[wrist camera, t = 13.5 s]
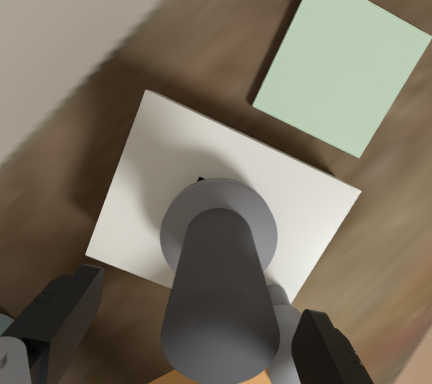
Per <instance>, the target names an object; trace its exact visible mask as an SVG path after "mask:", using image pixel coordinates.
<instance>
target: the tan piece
mask: <svg viewBox="0 0 432 384" xmlns="http://www.w3.org/2000/svg"><path fill="white" fill-rule="evenodd" d="M273 308H274V312H275V315H276V319H277V322H278V326H279V329H280V344H279V349H278V351H277V354H276V356H275V358H274V360H273V361H272V362H271V364H270V365H269V366H268V367H267V368H266V369H265V370H264V371H263V372H261V373H260V374H259V375H257V376H256V377H254V378H252V379H250V380H248V381H245V382H242V383H239V384H301V383H300V380H299V377H298V374H297V371H296V367H295V364H294V361H293V358H292V354H291V343H292V339H293V336H294V334H295V331H296V328H297V326H298V323H299V321H300V318H301V316H302V315H301V314H300V312H299V311H298V310H297V309H296V308H294V307H292V306H289V305H276V306H273ZM148 384H202V383H198V382H195V381H193V380H191V379H189V378H187V377H185V376H183V375H182V374H181V373H179V372H178V371H177V370H176V369H175V370H173V371H171V372H169V373H167V374H165V375H163V376H162V377H160V378H158V379H156V380H154V381H152V382H150V383H148Z"/></svg>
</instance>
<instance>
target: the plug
mask: <svg viewBox="0 0 432 384" xmlns="http://www.w3.org/2000/svg"><path fill="white" fill-rule="evenodd" d="M277 240H278V233H277V226H276V222H275V219H274V217H273V214H272V212H271V211H270V209H269V207H268V205H267V204H266V202H265V200H264V199H263V198H262V197H261V196H260V195H259V194H258V193H257V192H256V191H255V190H254V189H252V188H251V187H250V186H248V185H246V184H244V183H242V182H239V181H236V180H232V179H228V178H210V179H205V180H201V181H198V182H196V183H193V184H191V185H190V186H188V187H186V188H185V189H184V190H182V191H181V192H180V193H179V194H178V195H177V196H176V197H175V198H174V200H173V201H172V202H171V204H170V206H169V208H168V210H167V212H166V214H165V216H164V218H163V221H162V224H161V229H160V245H161V249H162V253H163V255H164V258H165V260H166V262H167V263H168V265H169V266H170V268H171V269H172V270H173V271H174V272H175V277H174V281H173V285H172V289H171V293H170V297H169V301H168V305H167V309H166V313H165V317H164V321H163V325H162V329H161V346H162V349H163V352H164V354H165V357H166V358H167V360H168V361H169V363H170V364H171V365H172V366H173V368H175V369H176V370H177V371H178V372H179V373H181V374H182V375H183V376H185V377H187V378H189V379H191V380H193V381H195V382H198V383H202V384H239V383H242V382H245V381H248V380H250V379H252V378H254V377H256V376H257V375H259V374H260V373H261V372H263V371H264V370H265V369H266V368H267V367H268V366H269V365H270V364H271V362H272V361H273V360H274V358H275V356H276V354H277V351H278V349H279V344H280V329H279V326H278V322H277V319H276V315H275V312H274V308H273V305H272V301H271V298H270V294H269V291H268V287H267V284H266V281H265V277H264V274H263V272H264V270H265V269H266V268H267V267H268V265H269V264H270V262H271V261H272V258H273V256H274V254H275V251H276V247H277Z"/></svg>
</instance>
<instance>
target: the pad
mask: <svg viewBox="0 0 432 384" xmlns="http://www.w3.org/2000/svg"><path fill="white" fill-rule="evenodd" d="M431 39H432V37H431V36H430V35H428V34H426V33H424V32H423V31H421V30H419V29H417V28H416V27H414V26H412V25H410V24H409V23H407V22H405V21H403V20H401V19H400V18H398V17H396V16H394V15H393V14H391V13H389V12H387V11H386V10H384V9H382V8H380V7H378V6H377V5H375V4H373V3H371V2H370V1H368V0H301V2H300V4H299V6H298V8H297V11H296V13H295V15H294V17H293V19H292V21H291V23H290V25H289V28H288V30H287V32H286V34H285V36H284V38H283V40H282V42H281V44H280V47H279V49H278V51H277V53H276V55H275V57H274V59H273V61H272V64H271V66H270V68H269V70H268V72H267V74H266V76H265V78H264V80H263V83H262V85H261V87H260V89H259V91H258V93H257V95H256V97H255V99H254V102H253V104H252V107H254V108H256V109H258V110H260V111H262V112H264V113H266V114H268V115H270V116H272V117H275V118H277V119H279V120H281V121H283V122H285V123H287V124H289V125H291V126H293V127H295V128H297V129H299V130H301V131H303V132H305V133H307V134H309V135H311V136H313V137H316V138H318V139H320V140H322V141H324V142H326V143H328V144H330V145H332V146H334V147H336V148H338V149H340V150H342V151H344V152H346V153H348V154H350V155H352V156H355V157H357V158H360V156H361V155H362V153H363V151H364V150H365V148H366V146H367V145H368V143H369V141H370V140H371V138H372V136H373V135H374V133H375V131H376V130H377V128H378V126H379V125H380V123H381V121H382V120H383V118H384V117H385V115H386V113H387V112H388V110H389V108H390V107H391V105H392V103H393V102H394V100H395V98H396V97H397V95H398V93H399V92H400V90H401V88H402V87H403V85H404V83H405V82H406V80H407V79H408V77H409V75H410V74H411V72H412V70H413V69H414V67H415V65H416V64H417V62H418V60H419V59H420V57H421V55H422V54H423V52H424V50H425V49H426V47H427V45H428V44H429V42H430V41H431Z"/></svg>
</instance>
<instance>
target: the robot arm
mask: <svg viewBox="0 0 432 384" xmlns="http://www.w3.org/2000/svg"><path fill="white" fill-rule="evenodd" d="M103 277H104V268H102V267H97V266H92V265H87V264H83V265H82V266H81V267H80V268H79V269H78V270H77V271H76V273H75V274H74V275H73V276H70V275H65V274H64V275H62V276H60V277H59V278H57V279H55V280H53V281H51V282H50V283H49V284H48V285H47V286H46V287H45V288H44V289H43V290H42V292H41V294H39V295H38V296H37V297H36V298H35V299H34V300H33V302H31V303H30V304H29V305H28V307H27V308H26V309H25V310H24V311H23V312H22V313H21V314H20V315H19V316H18V317H17V318H16V319H15V320H14V322H13V323H12V324H11V325H10V326H9V327H8V328H7V329H6V330H5V331H4V332H3V333H2V334H1V335H0V384H58V382H59V380H60V378H61V377H62V375H63V373H64V371H65V369H66V368H67V366H68V364H69V362H70V361H71V359H72V357H73V355H74V353H75V352H76V350H77V348H78V346H79V345H80V343H81V341H82V339H83V337H84V336H85V334H86V332H87V330H88V329H89V327H90V325H91V323H92V321H93V320H94V318H95V316H96V313H97V310H98V307H99V303H100V297H101V291H102V284H103ZM291 354H292V358H293V361H294V364H295V367H296V371H297V374H298V377H299V380H300V383H301V384H374V383H373V381H372V379H371V378H370V376H369V374H368V373H367V371H366V369H365V367H364V366H363V365H362V362H361V361H360V359H359V357H358V355H356V352H355V350H354V349H353V347H352V345H351V344H350V342H349V340H348V339H347V338H346V337H345V336H344V335H343V334H342V333H341V332H340V331H339V330H338V329H336V328H334V326H333V325H332V323H331V321H330V319H329V317H328V316H327V314H326V313H324V312H319V311H314V310H309V309H305V310H304V311H303V313H302V316H301V318H300V321H299V323H298V326H297V328H296V331H295V334H294V336H293V339H292V343H291Z"/></svg>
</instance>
